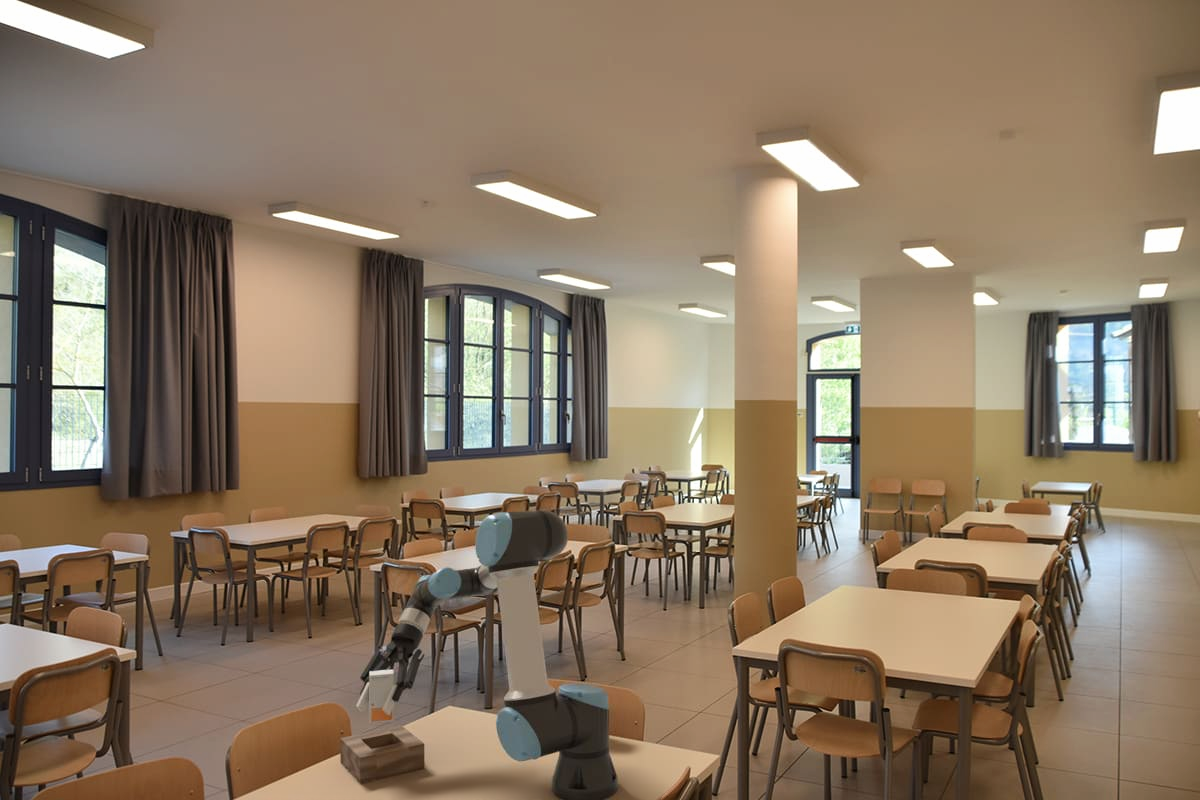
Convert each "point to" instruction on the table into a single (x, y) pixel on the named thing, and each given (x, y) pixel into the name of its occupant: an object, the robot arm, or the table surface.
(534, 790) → the table surface
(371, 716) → the skincare box
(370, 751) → the holder block
